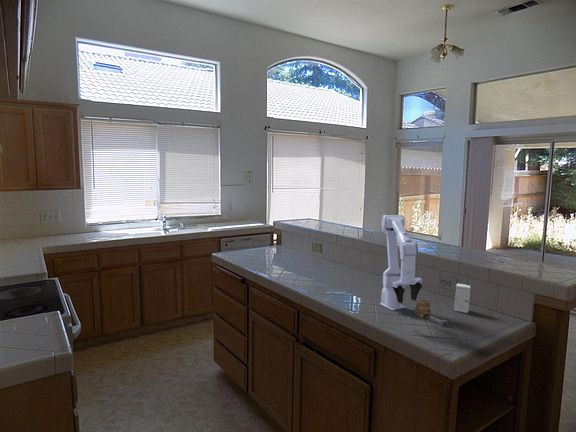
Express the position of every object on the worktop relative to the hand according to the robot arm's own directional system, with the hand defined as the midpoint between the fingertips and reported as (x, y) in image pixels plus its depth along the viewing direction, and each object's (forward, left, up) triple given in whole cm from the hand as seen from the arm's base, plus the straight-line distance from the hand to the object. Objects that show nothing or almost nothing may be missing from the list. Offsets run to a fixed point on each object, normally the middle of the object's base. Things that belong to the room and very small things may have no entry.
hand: (406, 301), depth 165 cm
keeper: (-2, +12, -9) cm, 15 cm away
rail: (+2, +12, -9) cm, 15 cm away
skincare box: (+1, +33, -10) cm, 34 cm away
